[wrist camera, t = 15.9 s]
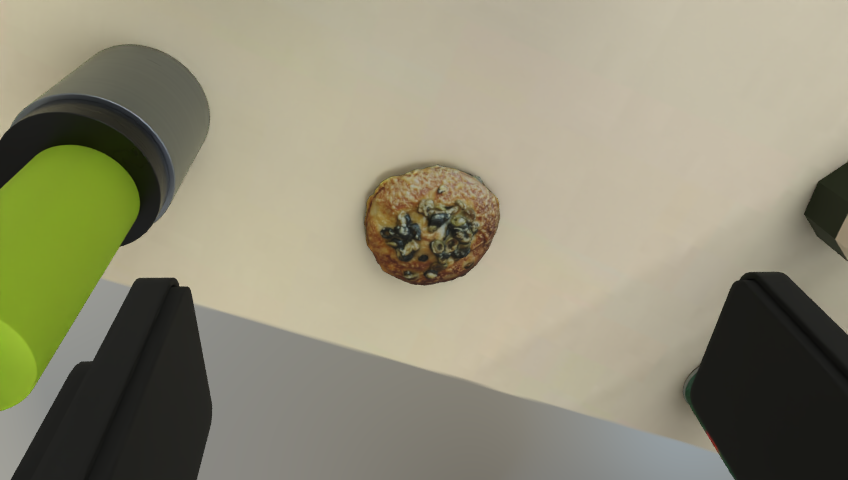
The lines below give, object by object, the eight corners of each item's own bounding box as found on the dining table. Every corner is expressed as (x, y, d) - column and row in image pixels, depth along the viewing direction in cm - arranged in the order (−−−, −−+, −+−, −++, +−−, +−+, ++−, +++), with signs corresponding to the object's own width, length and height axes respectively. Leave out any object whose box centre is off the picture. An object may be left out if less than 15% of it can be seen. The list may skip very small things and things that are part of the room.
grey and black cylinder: (60, 42, 40) (-38, 104, 30) (200, 46, 41) (150, 108, 31) (92, 165, 45) (16, 255, 35) (217, 166, 46) (178, 254, 36)
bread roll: (421, 298, 54) (423, 328, 50) (336, 209, 50) (330, 234, 46) (522, 224, 52) (534, 249, 47) (441, 124, 48) (445, 141, 43)
